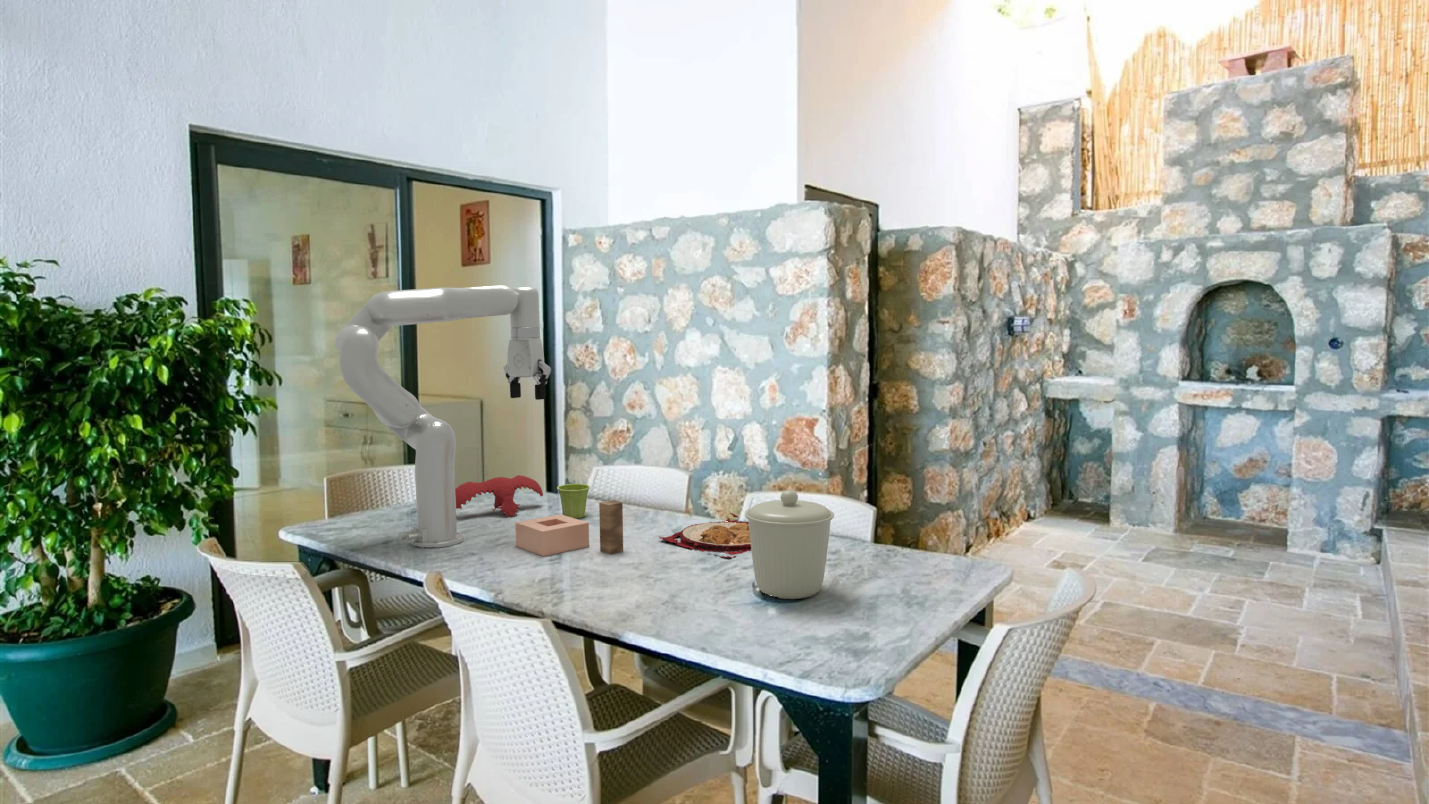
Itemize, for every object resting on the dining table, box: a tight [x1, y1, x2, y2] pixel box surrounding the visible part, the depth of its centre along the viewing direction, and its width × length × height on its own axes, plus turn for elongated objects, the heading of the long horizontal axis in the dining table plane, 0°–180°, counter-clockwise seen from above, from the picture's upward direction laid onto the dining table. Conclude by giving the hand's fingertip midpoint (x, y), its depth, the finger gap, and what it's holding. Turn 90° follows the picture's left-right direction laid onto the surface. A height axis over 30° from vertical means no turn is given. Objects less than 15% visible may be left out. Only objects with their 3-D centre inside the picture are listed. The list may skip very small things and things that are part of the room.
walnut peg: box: [598, 499, 624, 555], centre depth 205 cm, size 4×4×12 cm
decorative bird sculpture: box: [455, 474, 544, 518], centre depth 247 cm, size 28×9×15 cm
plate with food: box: [658, 512, 752, 559], centre depth 215 cm, size 25×26×4 cm
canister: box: [744, 489, 835, 600], centre depth 172 cm, size 18×18×21 cm
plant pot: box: [556, 483, 591, 519], centre depth 242 cm, size 9×9×9 cm
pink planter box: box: [515, 513, 590, 557], centre depth 210 cm, size 13×13×6 cm
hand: (527, 398), depth 225 cm, fingers open, 9 cm apart
